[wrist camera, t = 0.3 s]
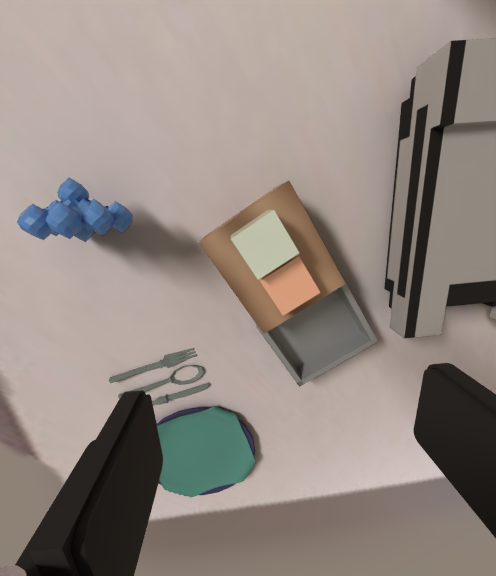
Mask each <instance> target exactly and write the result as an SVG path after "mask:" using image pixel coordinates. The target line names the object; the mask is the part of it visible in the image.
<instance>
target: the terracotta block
mask: <svg viewBox="0 0 496 576" xmlns="http://www.w3.org/2000/svg"><path fill="white" fill-rule="evenodd" d="M259 280H260V282H261V284H262V285H263V287H264V288H265V290H266V291H267V293H268V294H269V296H270V297H271V299H272V300H273V302H274V303H275V305H276V306H277V308H278V309H279V311H280V312H281V314H282V315H283V316H284V315H285V314H287V313H288V312H290V311H292V310H293V309H295V308H296V307H298V306H300V305H301V304H303V303H305V302H306V301H308V300H309V299H311V298H313V297H314V296H316V295H317V294H319V293H320V291H319V289H318V287H317V286H316V284H315V282H314V281H313V279H312V277H311V276H310V274H309V272H308V271H307V269H306V267H305V266H304V264H303V262H302V260H301V259H300V257H299V256H298V255H296V256H294V257H293V258H291V259H290V260H288V261H287V262H285V263H283V264H282V265H280V266H279V267H277V268H276V269H274V270H273V271H271V272H269V273H268V274H266V275H265V276H263V277H262V278H260V279H259Z"/></svg>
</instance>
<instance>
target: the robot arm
mask: <svg viewBox="0 0 496 576" xmlns="http://www.w3.org/2000/svg"><path fill="white" fill-rule="evenodd" d="M414 435H415V438H416V440H417V442H418V443H419V444H420V445H421V447H422V448H423V449H424V450H425V452H426V453H427V454H428V455H429V457H430V458H431V459H432V460H433V461H434V463H435V464H436V465H437V466H438V468H439V469H440V470H441V471H442V473H443V474H444V475H445V476H446V478H447V479H448V480H449V481H450V482H451V484H452V485H453V486H454V487H455V489H456V490H457V491H458V492H459V493H460V495H461V496H462V497H463V498H464V500H465V501H466V502H467V503H468V505H469V506H470V507H471V508H472V509H473V511H474V512H475V513H476V514H477V516H478V517H479V518H480V519H481V520H482V522H483V523H484V524H485V525H486V527H487V528H488V529H489V530H490V532H491V533H492V534H493V535H494V537H495V538H496V394H494V393H493V392H491V391H490V390H489V389H487V388H486V387H484V386H483V385H481V384H480V383H478V382H477V381H476V380H474V379H473V378H471V377H470V376H468V375H467V374H465V373H464V372H462V371H461V370H460V369H458V368H457V367H455V366H454V365H452V364H450V363H442V364H432V365H429V366H428V368H427V370H425V371H424V375H423V381H422V386H421V392H420V397H419V403H418V408H417V414H416V420H415V425H414ZM162 467H163V454H162V449H161V444H160V439H159V434H158V429H157V424H156V419H155V414H154V410H153V405H152V400H151V396H150V395H146V394H145V392H144V391H143V390H141V391H129V392H124V393H123V395H122V396H121V398H120V400H119V401H118V403H117V405H116V406H115V408H114V410H113V411H112V413H111V415H110V416H109V418H108V420H107V422H106V423H105V425H104V427H103V428H102V430H101V432H100V433H99V435H98V437H97V439H96V440H94V441H92V442H91V443H90V444H89V445H88V446H87V448H86V449H85V451H84V453H83V454H82V456H81V458H80V459H79V461H78V462H77V464H76V466H75V467H74V469H73V471H72V472H71V474H70V476H69V477H68V479H67V481H66V482H65V484H64V485H63V487H62V489H61V490H60V492H59V494H58V495H57V497H56V499H55V501H54V502H53V504H52V505H51V507H50V508H49V510H48V512H47V513H46V515H45V517H44V518H43V520H42V522H41V523H40V525H39V527H38V528H37V530H36V532H35V533H34V535H33V537H32V538H31V540H30V541H29V543H28V545H27V546H26V548H25V550H24V551H23V553H22V555H21V556H20V558H19V559H18V561H17V563H16V564H15V566H3V567H1V568H0V576H134V573H135V569H136V566H137V562H138V558H139V554H140V550H141V547H142V543H143V539H144V535H145V532H146V528H147V524H148V520H149V516H150V513H151V509H152V505H153V501H154V498H155V494H156V490H157V486H158V482H159V479H160V475H161V471H162Z"/></svg>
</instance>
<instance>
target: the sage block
mask: <svg viewBox="0 0 496 576" xmlns="http://www.w3.org/2000/svg"><path fill="white" fill-rule="evenodd" d="M231 240H232V242H233V243H234V245H235V246H236V248H237V249H238V251H239V252H240V254H241V255H242V257H243V258H244V260H245V261H246V263H247V264H248V266H249V267H250V269H251V270H252V272H253V273H254V275H255V276H256V278H257V279H258V280H259V279H260V278H262V277H263V276H265V275H266V274H268V273H269V272H271V271H273V270H274V269H276V268H277V267H279V266H280V265H282V264H283V263H285V262H287V261H288V260H290V259H291V258H293V257H294V256H296V255H297V254H299V251H298V250H297V248H296V246H295V245H294V243H293V241H292V240H291V238H290V236H289V235H288V233H287V231H286V229H285V228H284V226H283V224H282V223H281V221H280V219H279V218H278V216H277V214H276V212H275V211H274V210H267V211H266V212H264V213H263V214H261V215H260V216H258V217H257V218H255V219H254V220H252V221H251V222H249V223H248V224H246V225H245V226H243V227H242V228H241V229H239V230H238V231H236V232H235V233H233V234H232V235H231Z"/></svg>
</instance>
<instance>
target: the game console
mask: <svg viewBox="0 0 496 576" xmlns="http://www.w3.org/2000/svg"><path fill="white" fill-rule="evenodd" d="M385 289H386V290H388V291H390V299H389V307H390V308H391V319H390V328H391V329H392V330H394V331H395V332H396V333H398V334H399V335H400V336H402V337H403V338H413V337H422V336H432V335H441V331H442V325H443V319H444V314H445V308H446V306H456V305H467V304H477V303H483V304H486V305H489V306H491V307H492V308H491V312H490V316H489V317H490V318H492V319H494V320H496V38H494V39H476V40H458V41H450V42H449V43H448V44H446V45H445V46H444V47H443V48H441V49H440V50H439V51H437V52H436V53H435V54H433V55H432V56H431V57H429V58H428V59H427V60H426V61H424V62H423V63H422V64H420V65H419V66H418V67H417V71H416V77H414V78H413V79H412V82H411V91H410V98H409V99H408V100H406V101H404V102H403V103H402V105H401V116H400V127H399V138H398V149H397V159H396V170H395V181H394V192H393V203H392V213H391V224H390V235H389V246H388V257H387V267H386V278H385Z"/></svg>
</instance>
